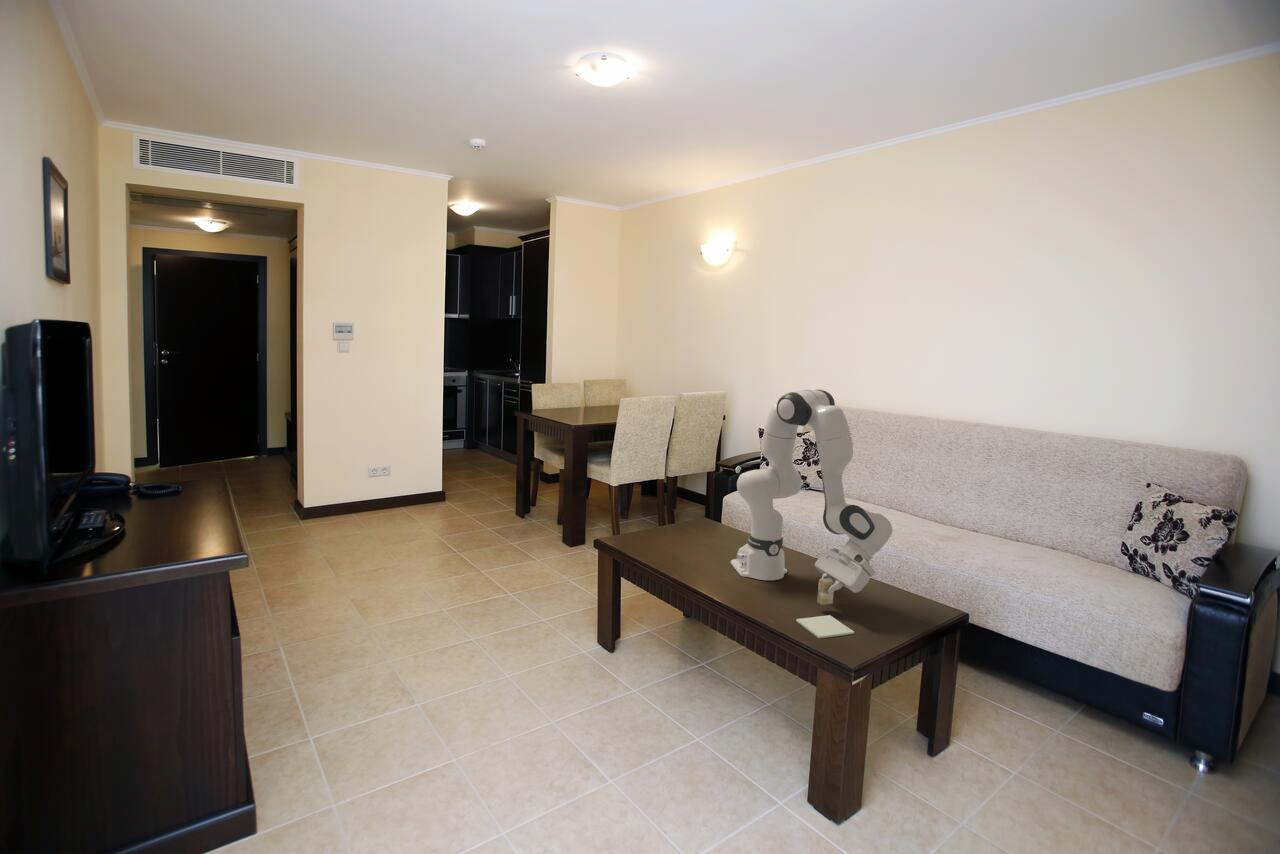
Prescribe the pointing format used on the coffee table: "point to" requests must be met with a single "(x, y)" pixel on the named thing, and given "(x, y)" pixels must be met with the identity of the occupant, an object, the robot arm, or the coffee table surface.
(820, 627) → the sage mat
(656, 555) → the coffee table surface
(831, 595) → the card deck block
